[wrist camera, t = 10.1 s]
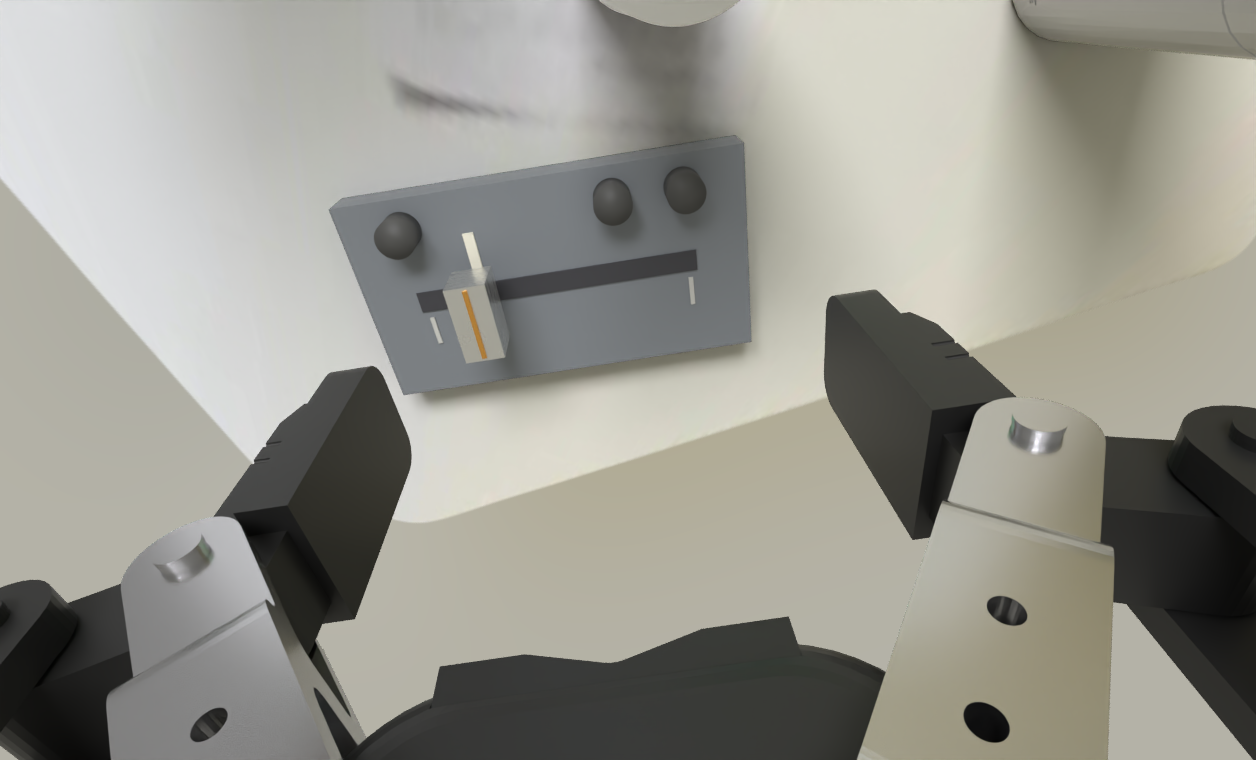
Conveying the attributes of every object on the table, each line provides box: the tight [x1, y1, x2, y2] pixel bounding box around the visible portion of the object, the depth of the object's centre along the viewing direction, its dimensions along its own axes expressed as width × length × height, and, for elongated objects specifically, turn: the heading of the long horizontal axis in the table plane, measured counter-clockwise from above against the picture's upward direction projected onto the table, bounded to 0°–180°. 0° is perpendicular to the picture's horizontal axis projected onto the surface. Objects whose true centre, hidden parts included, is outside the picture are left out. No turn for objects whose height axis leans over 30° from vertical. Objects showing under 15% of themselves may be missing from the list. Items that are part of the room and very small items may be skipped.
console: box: [329, 135, 751, 395], centre depth 42 cm, size 26×14×4 cm, turn 98°
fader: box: [443, 266, 510, 364], centre depth 39 cm, size 2×5×5 cm, turn 8°
